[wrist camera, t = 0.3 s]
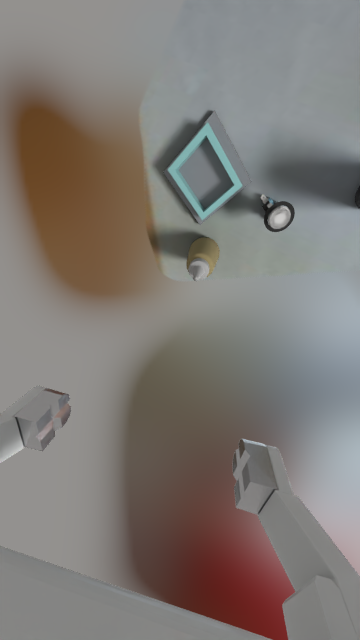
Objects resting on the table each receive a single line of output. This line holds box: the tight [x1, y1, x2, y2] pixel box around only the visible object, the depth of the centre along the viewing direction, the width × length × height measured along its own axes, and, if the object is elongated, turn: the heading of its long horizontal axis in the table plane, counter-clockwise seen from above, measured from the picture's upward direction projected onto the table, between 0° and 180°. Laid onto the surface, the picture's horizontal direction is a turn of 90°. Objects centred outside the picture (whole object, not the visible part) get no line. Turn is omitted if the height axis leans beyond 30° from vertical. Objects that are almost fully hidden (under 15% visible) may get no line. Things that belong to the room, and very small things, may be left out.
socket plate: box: [163, 111, 252, 225], centre depth 41 cm, size 14×14×4 cm
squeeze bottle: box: [187, 237, 219, 281], centre depth 46 cm, size 8×8×18 cm
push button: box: [260, 194, 294, 232], centre depth 40 cm, size 7×5×10 cm
